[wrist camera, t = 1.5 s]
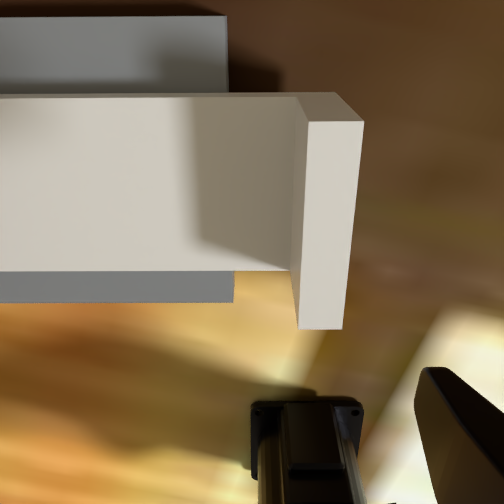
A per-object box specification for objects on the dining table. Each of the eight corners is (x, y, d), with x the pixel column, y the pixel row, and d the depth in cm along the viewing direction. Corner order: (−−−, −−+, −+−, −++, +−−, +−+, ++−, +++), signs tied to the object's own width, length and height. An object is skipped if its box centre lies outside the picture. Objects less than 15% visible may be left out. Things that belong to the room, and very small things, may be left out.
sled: (322, 258, 20) (341, 329, 16) (-220, 260, 20) (-353, 331, 16) (335, 92, 17) (364, 121, 12) (-313, 95, 17) (-514, 126, 12)
